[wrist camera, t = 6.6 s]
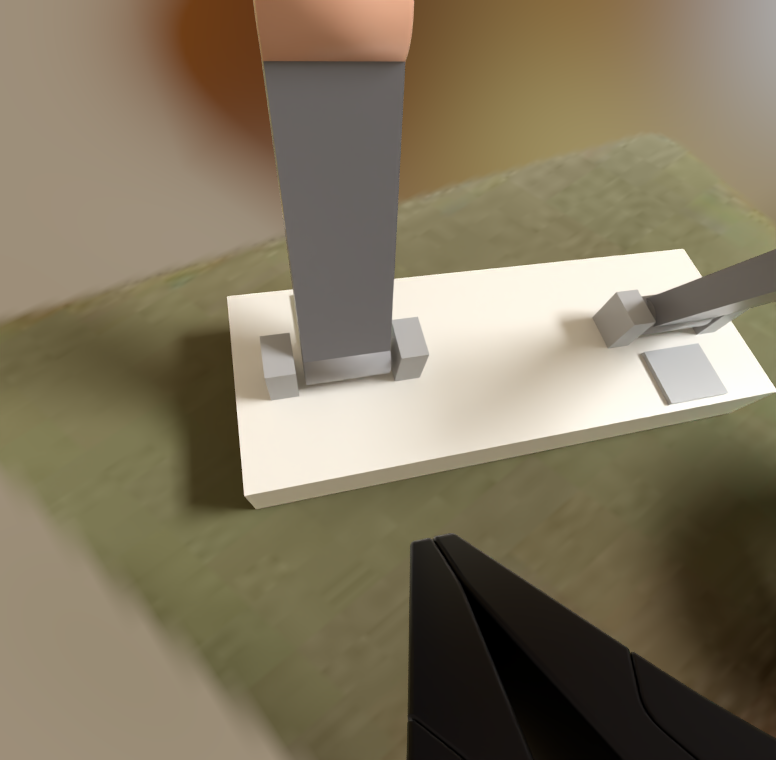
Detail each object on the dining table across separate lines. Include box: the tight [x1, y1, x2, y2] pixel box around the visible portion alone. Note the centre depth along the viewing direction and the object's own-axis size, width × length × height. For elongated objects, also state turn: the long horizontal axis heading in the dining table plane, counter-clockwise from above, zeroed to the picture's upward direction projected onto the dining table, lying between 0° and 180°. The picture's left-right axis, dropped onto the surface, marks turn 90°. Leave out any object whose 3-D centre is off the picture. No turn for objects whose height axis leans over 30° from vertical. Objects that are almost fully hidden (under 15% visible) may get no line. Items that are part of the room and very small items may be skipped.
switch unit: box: [227, 249, 776, 509], centre depth 18 cm, size 8×22×4 cm, turn 103°
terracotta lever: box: [253, 0, 414, 385], centre depth 12 cm, size 2×3×11 cm, turn 103°
